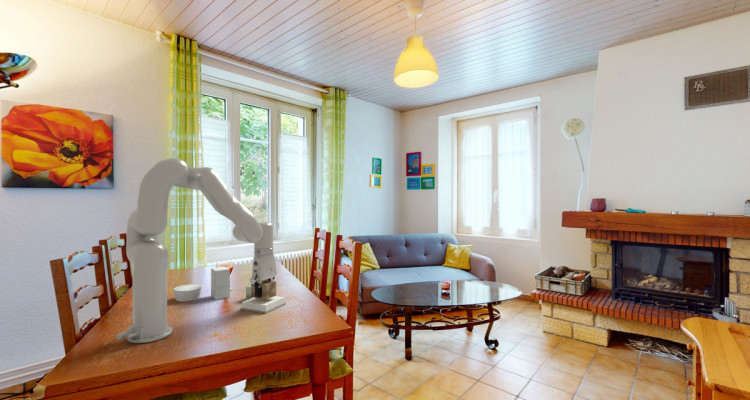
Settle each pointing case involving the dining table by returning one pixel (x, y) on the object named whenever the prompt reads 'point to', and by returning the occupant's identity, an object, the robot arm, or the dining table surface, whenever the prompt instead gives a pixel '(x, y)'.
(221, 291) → the small box
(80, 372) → the dining table surface
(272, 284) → the walnut brick
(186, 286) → the ramekin
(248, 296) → the sage cube
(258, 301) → the plinth
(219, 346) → the dining table surface
